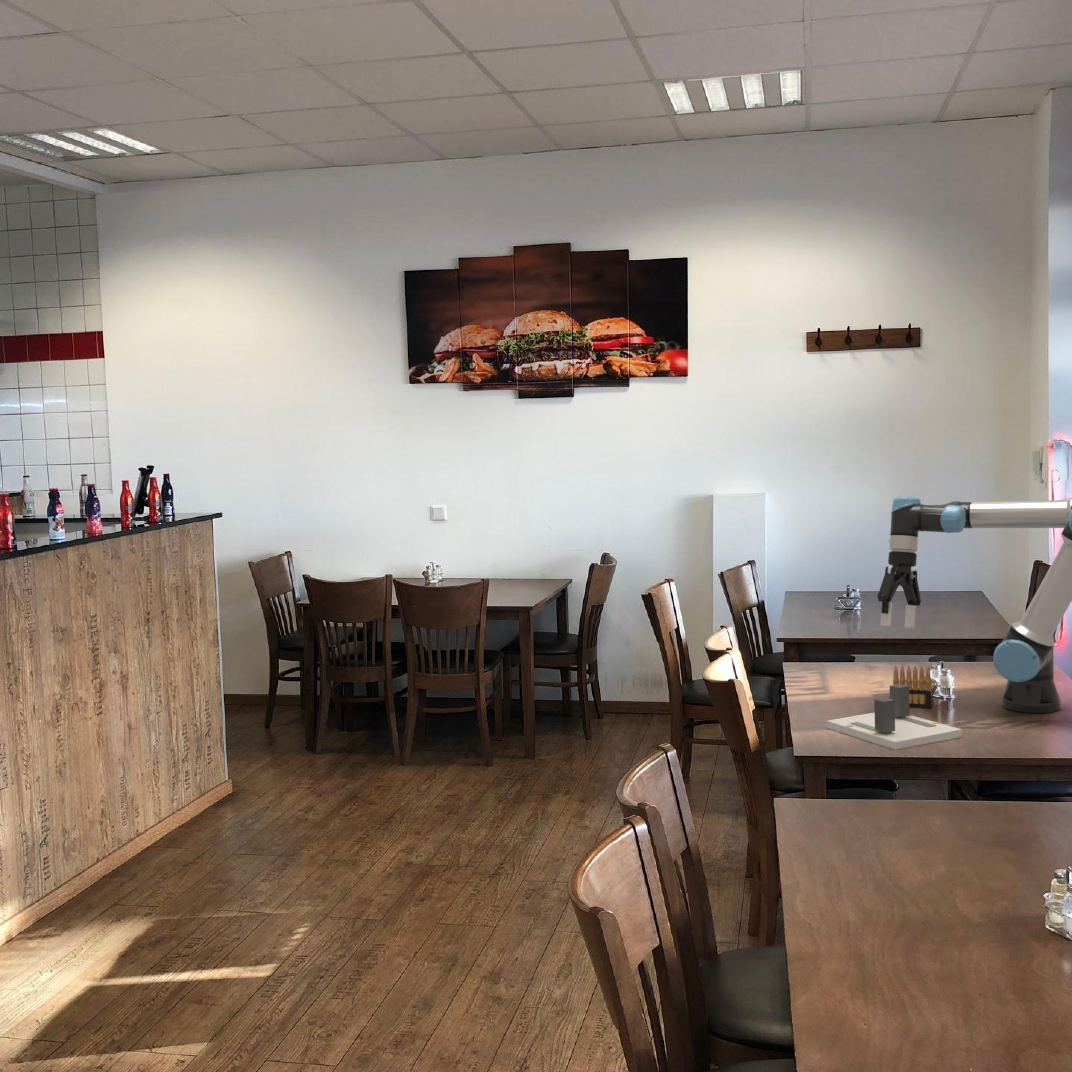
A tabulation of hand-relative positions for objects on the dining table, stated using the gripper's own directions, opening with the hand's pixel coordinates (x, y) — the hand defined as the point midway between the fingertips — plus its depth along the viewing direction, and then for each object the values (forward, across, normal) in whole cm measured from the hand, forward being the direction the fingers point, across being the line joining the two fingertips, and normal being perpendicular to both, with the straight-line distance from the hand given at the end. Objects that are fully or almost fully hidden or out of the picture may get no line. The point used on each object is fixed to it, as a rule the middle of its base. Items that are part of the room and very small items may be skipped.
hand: (897, 627), depth 315 cm
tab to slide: (+24, +9, +7) cm, 26 cm away
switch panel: (+28, +17, +10) cm, 34 cm away
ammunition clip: (+22, -11, 0) cm, 25 cm away
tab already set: (+27, +26, +12) cm, 39 cm away
